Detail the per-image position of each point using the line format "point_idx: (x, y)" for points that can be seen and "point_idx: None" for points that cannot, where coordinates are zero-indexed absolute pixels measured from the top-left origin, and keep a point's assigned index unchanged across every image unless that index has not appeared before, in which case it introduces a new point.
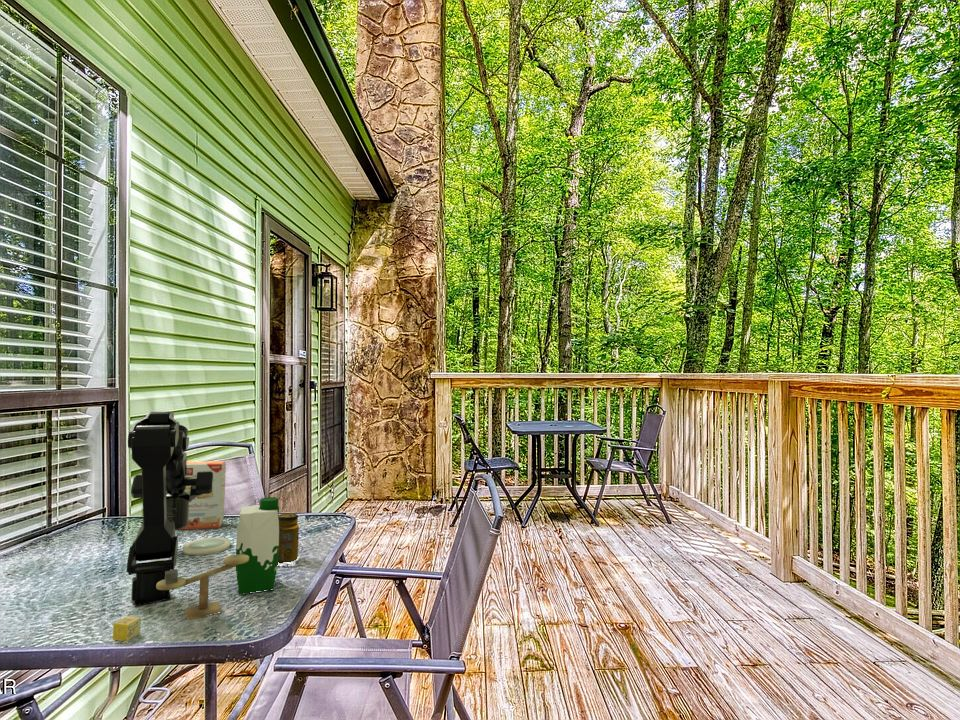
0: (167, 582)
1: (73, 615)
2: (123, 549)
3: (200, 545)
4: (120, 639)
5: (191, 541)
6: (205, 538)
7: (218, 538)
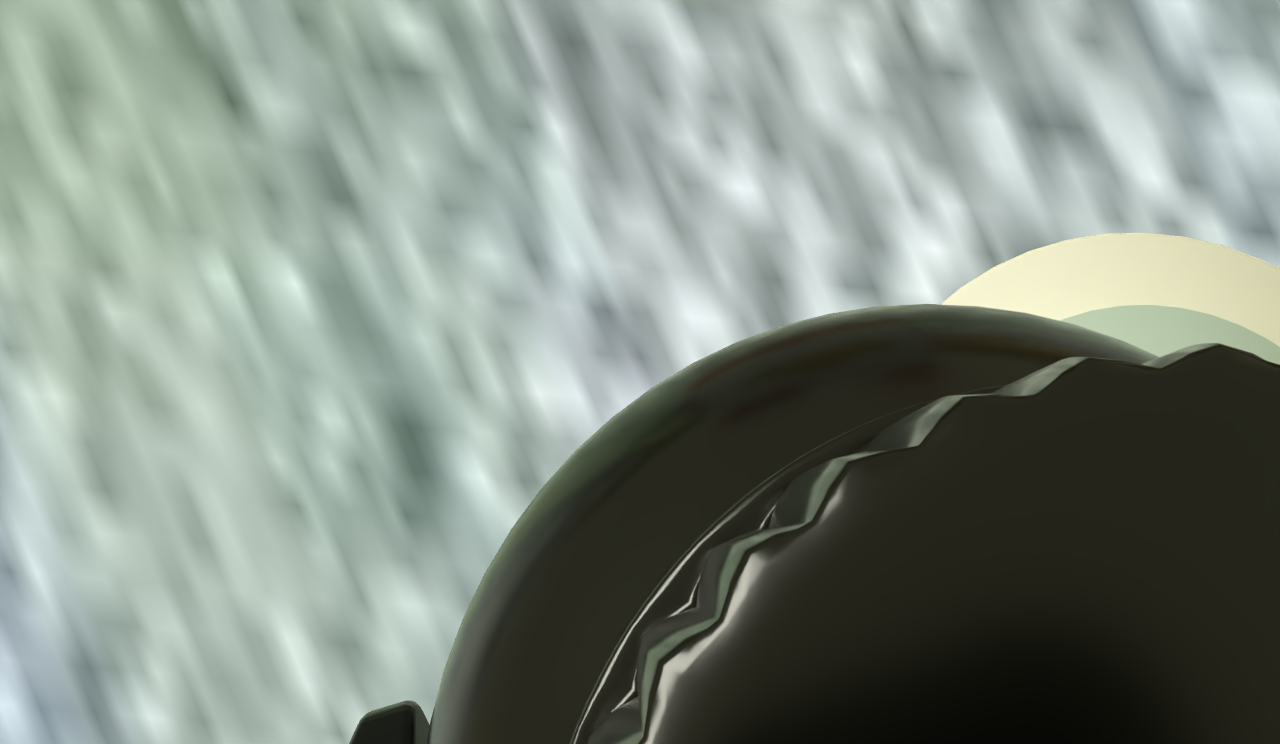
0: None
1: None
2: (11, 493)
3: None
4: None
5: None
6: (1018, 266)
7: (1205, 281)
